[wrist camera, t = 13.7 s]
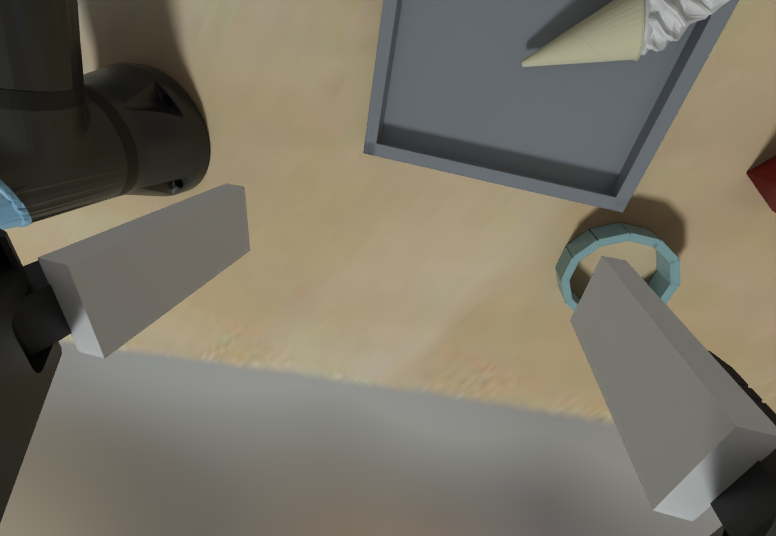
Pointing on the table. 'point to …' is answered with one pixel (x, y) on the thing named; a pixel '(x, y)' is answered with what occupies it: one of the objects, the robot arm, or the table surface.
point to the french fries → (765, 181)
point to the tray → (525, 97)
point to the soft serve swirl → (623, 31)
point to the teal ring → (589, 241)
